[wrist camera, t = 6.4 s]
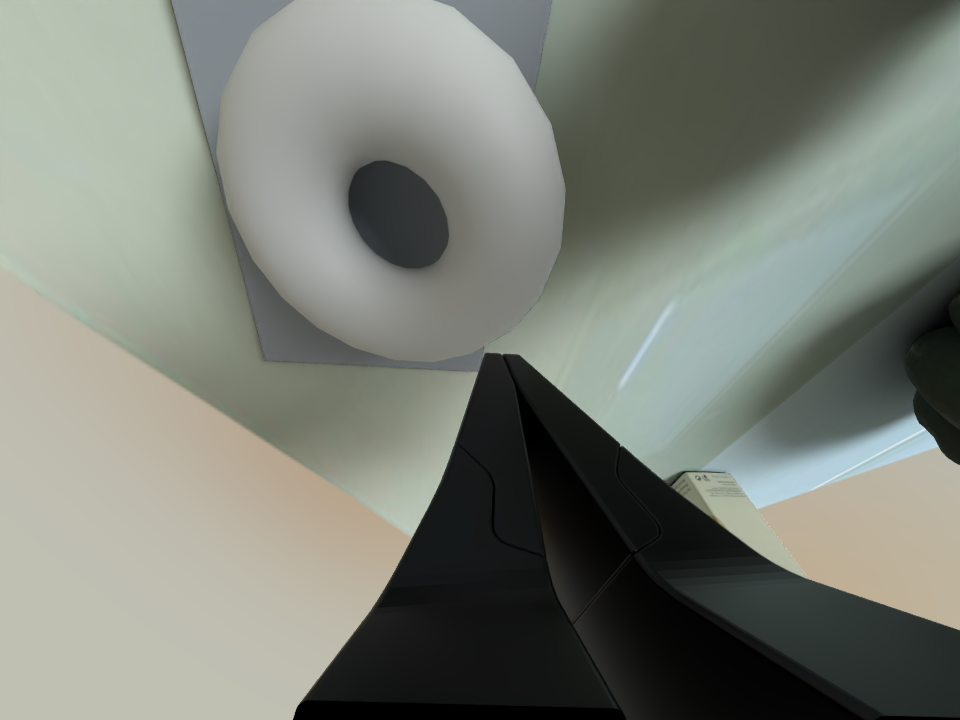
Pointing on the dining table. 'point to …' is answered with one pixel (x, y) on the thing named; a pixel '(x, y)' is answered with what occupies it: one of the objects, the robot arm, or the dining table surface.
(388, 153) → the donut
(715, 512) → the skincare box
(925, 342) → the squash
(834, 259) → the dining table surface
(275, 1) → the mat
